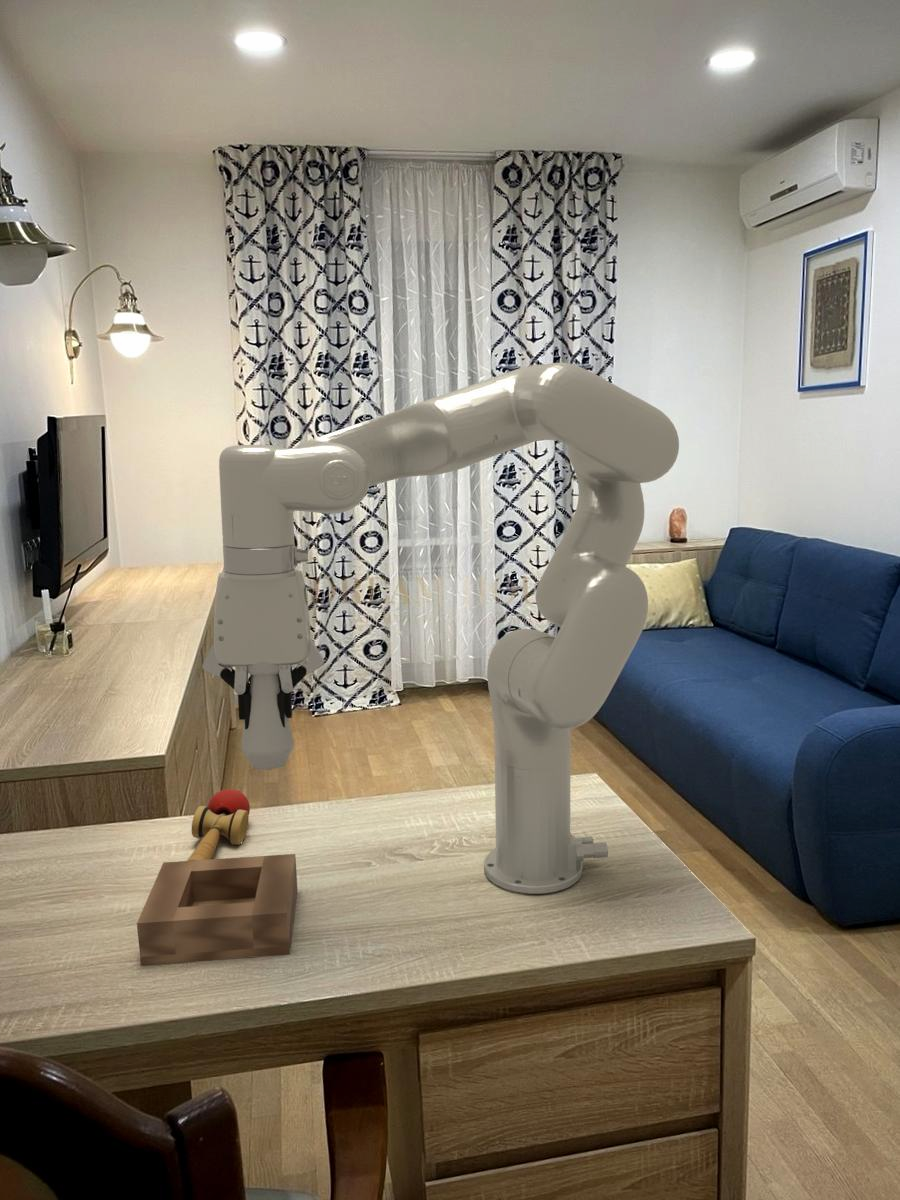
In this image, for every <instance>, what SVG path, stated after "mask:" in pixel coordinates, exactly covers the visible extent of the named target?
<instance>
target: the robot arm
mask: <svg viewBox="0 0 900 1200" xmlns="http://www.w3.org/2000/svg"><path fill="white" fill-rule="evenodd" d="M538 441H558V442H560V443H563V444H564V445H566V447H567V454H568V455H567V456H568V458H569V460H570V464H571V466H572V468H573V470H574V473H575V478H576V482H577V488H578V498H577V499H578V500H577V505H576V509H575V510H574V514H573V516H572V519H571V521H570V523H569V525H568V527H567V529H566V531H565V533H564V534H563V536H562V539H561V540H560V542H559V544H558V545H557V548H556V550H555V552H554V553H553V555H552V557H551V558H550V560H549V562H548V564H547V566H546V568H545V570H544V571H543V574H542V575H541V577H540V580H539V581H538V584H537V587H536V591H535V603H536V606H537V610H538V611H539V612H540V614H541V615H542V617H544V619H546V620H547V621H548V622H549V623H551V624H553V625H554V626H556V627H558V628H559V630H558V632H557V634H556V636H553V635H551V634H549V633H546V632H544V631H540V630H538V629H533V628H532V629H531V628H520V629H519V628H518V629H516V630H512V631H510V632H508V633H506V634H505V635H503V636H502V637H501V638H499V640H498V641H497V642H495V645H493V648H492V649H491V651H490V654H489V656H488V657H489V658H488V661H487V669H486V670H487V671H486V675H487V676H486V677H487V685H488V686H487V687H488V688H487V689H488V694H489V698H490V705H491V709H492V711H491V712H492V720H493V731H494V733H493V734H494V735H493V737H494V738H493V739H494V794H495V796H494V802H495V807H494V808H495V848H494V849H493V850H491V851H490V852H489V853H488V854H487V855H485V858H484V861H483V863H484V864H483V865H484V867H483V870H484V874H485V876H486V877H487V879H489V881H490V882H491V883H493V884H495V885H496V886H497V887H500V888H502V889H504V890H507V891H511V892H516V893H520V894H530V895H534V894H536V895H541V894H549V893H552V894H553V893H556V892H560V891H562V890H565V889H568V888H569V887H571V886H574V885H575V884H576V883H578V882H579V880H580V879H581V877H582V876H583V862H584V860H585V859H603V858H608V856H609V855H608V854H609V849H608V844H607V842H606V841H600V842H599V841H598V842H594V839H593V836H582V837H575V835H572V832H571V757H572V750H571V749H572V748H571V747H572V744H571V731H570V730H571V729H572V730H573V729H575V728H576V729H577V728H578V727H581V726H582V725H585V724H586V723H587V722H589V721H590V720H591V719H592V718H593V717H594V716H595V715H596V714H597V713H598V712H599V711H600V709H601V707H602V706H603V705H604V703H605V702H606V700H607V698H608V696H609V694H610V693H611V691H612V689H613V687H614V685H615V684H616V682H617V680H618V678H619V676H620V675H621V672H622V671H623V669H624V667H625V665H626V664H627V661H628V660H629V658H630V655H631V654H632V652H633V650H634V648H635V646H636V644H637V642H638V641H639V638H640V636H641V634H642V632H643V630H644V627H645V624H646V621H647V617H648V611H649V598H648V591H647V589H646V586H645V584H644V582H643V580H642V579H641V577H640V576H639V575H638V574H637V573H636V572H635V571H634V570H632V569H631V568H629V567H628V566H627V565H628V563H629V561H630V559H631V557H632V554H633V552H634V550H635V548H636V546H637V544H638V542H639V539H640V537H641V533H642V531H643V526H644V522H645V502H644V494H643V491H642V490H643V489H642V486H641V484H644V483H645V484H647V483H650V482H651V483H652V482H655V481H657V480H658V479H661V478H662V477H663V476H665V475H666V474H667V473H669V472H670V470H671V469H672V468H673V466H674V465H675V463H676V460H677V459H678V455H679V449H680V440H679V434H678V430H677V429H676V427H675V425H674V423H673V421H672V420H671V419H670V418H669V417H668V415H666V413H664V412H663V411H662V410H660V409H659V408H657V407H656V406H655V405H652V404H650V403H649V402H647V401H645V400H643V399H641V398H639V397H637V396H636V395H634V394H632V393H630V392H628V391H626V390H625V389H623V388H621V387H619V385H618V386H617V385H615V384H614V383H613V382H610V381H609V380H607V379H605V378H603V377H601V376H599V375H597V374H596V373H594V372H592V371H590V370H588V369H586V368H583V367H581V366H578V365H577V364H573V363H569V362H553V363H543V364H535V365H528V366H524V367H520V368H517V369H514V370H511V371H507V372H505V373H502V374H499V375H497V376H494V377H490V378H488V379H485V380H482V381H478V382H476V383H472V384H471V385H468V386H465V387H461V388H460V389H459V388H458V389H456V390H453V391H450V392H447V393H443V394H440V395H437V396H435V397H431V398H429V399H426V400H423V401H420V402H416V403H414V404H411V405H409V406H406V407H403V408H401V409H398V410H396V411H392V412H390V413H387V414H383V415H381V416H378V417H375V418H372V419H368V420H365V421H362V422H359V423H356V424H353V425H349V426H347V427H343V428H341V429H338V430H335V431H332V432H329V433H327V434H323V435H321V436H317V437H315V438H312V439H309V440H307V441H306V440H305V441H304V442H301V443H299V444H297V445H296V446H295V447H291V448H289V447H288V448H286V447H284V446H280V445H275V444H273V445H272V444H241V445H240V444H238V445H231V446H227V447H225V448H224V449H223V450H222V451H221V452H220V455H219V458H218V463H219V465H218V470H219V471H218V473H219V488H220V489H219V491H220V492H219V493H220V509H221V510H220V514H221V533H222V553H223V572H220V573H218V574H217V575H218V576H217V582H216V589H215V598H214V615H213V616H214V617H213V619H214V620H213V621H214V624H213V629H214V630H213V643H212V645H211V647H210V648H209V651H208V653H207V655H206V657H205V659H204V661H203V663H202V665H201V668H202V670H203V671H205V672H207V673H209V674H212V675H214V676H216V677H219V678H221V680H222V681H224V682H225V683H226V684H227V685H228V686H230V687H231V688H232V689H233V690H234V692H235V694H237V703H238V707H237V708H238V720H242V721H244V720H245V729H248V727H249V718H250V711H251V694H250V693H249V682H250V681H249V673H247V666H251V665H255V664H257V663H260V662H264V661H266V662H267V663H268V664H274V665H279V675H280V680H281V684H280V686H279V688H280V692H279V694H277V703H278V709H279V712H280V719H281V722H282V725H283V727H285V716H286V717H287V718H289V719H293V705H292V704H293V699H292V698H293V697H292V696H293V695H292V691H293V689H294V688H295V687H296V686H297V685H298V684H299V683H300V682H301V681H302V680H303V679H304V677H306V676H307V675H309V674H311V673H313V672H315V671H317V670H318V669H320V668H322V667H324V664H325V663H324V661H325V660H324V657H323V655H322V653H321V652H320V650H319V649H318V647H317V646H316V643H315V642H314V640H313V638H312V637H311V627H310V613H309V603H308V593H307V588H306V587H307V586H306V582H305V579H304V575H303V571H302V570H297V569H296V566H298V564H302V563H308V562H309V550H308V549H302V548H298V546H296V543H295V526H294V525H295V524H294V523H295V521H294V511H295V512H306V513H307V512H309V513H317V514H328V515H334V514H335V515H336V514H337V515H338V514H342V513H346V512H348V511H351V510H353V509H354V508H355V507H357V506H358V505H360V504H361V502H362V501H363V500H364V499H365V497H366V495H367V493H368V491H369V488H370V487H373V486H376V485H379V484H382V483H386V482H390V481H394V480H398V479H402V478H403V479H404V478H411V477H421V476H423V477H424V476H425V477H426V476H437V475H443V474H447V473H451V472H452V473H453V472H456V471H459V470H461V469H464V468H467V467H470V466H472V465H475V464H477V463H480V462H481V461H485V460H487V459H490V458H493V457H495V456H498V455H501V454H503V453H506V452H508V451H509V452H510V451H513V450H516V449H518V448H520V447H524V446H526V445H529V444H531V443H536V442H538ZM294 665H296V666H295V667H294V668H293V666H294ZM233 667H235V668H233Z"/></svg>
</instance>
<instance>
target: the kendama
mask: <svg viewBox="0 0 900 1200" xmlns="http://www.w3.org/2000/svg"><path fill="white" fill-rule="evenodd" d="M250 811H251V809H250V802H249V800H248V798H247V797H246V795H245V794H244V793H243V792H241V791H239V790H237V789H233V788H227V789H226V788H225V789H222V790H220V791H218V792H216V793H215V794H214V795H213V796H211V798H210V799H209V801H208V803H207V805H200V806H198V807H197V809H196V810H195V813H194V815H193V817H192V822H191V835H192V837H193V838H197V839H201V840H200V841H199V843H198V844H197V846H196V847H195V849H194V850H193V852H192V853H191V855H190V856H189V858H188V859H186V861H194V860H209V859H213V856H214V853H215V851H216V848H217V846H218V843H219V839H220V836H223V837H226V838H227V840H229V842H230V844H231V845H235V846H236V845H238V846H241V845H242V844H241V842H242V840H243V839H244V838H246V836H247V832H248V827H249V817H250ZM244 840H245V839H244ZM242 843H243V842H242ZM240 844H241V845H240Z"/></svg>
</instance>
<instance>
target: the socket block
mask: <svg viewBox="0 0 900 1200" xmlns="http://www.w3.org/2000/svg"><path fill="white" fill-rule="evenodd" d="M297 875H298V873H297V859H296V853H289V854H273V855H258V856H255V855H254V856H244V857H242V856H241V857H226V858H214V859H213V858H211V859H209V860H194V861H187V860H181V861H179V860H178V861H167V862H165V861H164V862H162V864H161V867H160V868H159V871H158V874H157V876H156V879H155V881H154V883H153V885H152V887H151V890H150V891H149V895H148V897H147V899H146V902H145V903H144V905H143V906H144V907H143V908H142V911H141V912H140V915H139V918H138V919H137V922H136V927H137V928H136V929H137V939H138V949H139V950H138V951H139V958H140V966H149V965H150V966H151V965H161V964H176V963H177V964H178V963H189V962H190V963H191V962H202V961H203V962H204V961H216V960H217V961H218V960H228V959H229V960H231V959H241V958H256V957H269V956H272V957H273V956H281V955H282V956H283V955H284V956H285V955H290V954H291V953H290V952H291V946H292V945H291V944H292V936H293V930H294V929H293V928H294V920H295V914H296V908H297V905H296V904H297V898H298V892H297V891H298V877H297Z"/></svg>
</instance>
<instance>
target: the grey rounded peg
mask: <svg viewBox="0 0 900 1200" xmlns="http://www.w3.org/2000/svg"><path fill="white" fill-rule="evenodd" d="M247 673H248V675H250V677H249V681H248V682H249V693H250V694H251V711H250V718H249V727H248V729H245V720H243V725H242V726H243V727H242V734H241V741H240V747H241V750H242V753H243V754H244V756H245V757H246V759H247V761H248V763H249V765H250V766H251V767H252V768H253V769H254V770H263V771H272V770H275V769H280V768H283V767H285V765H286V764H287V761H288V759H289V757H290V755H291V753H292V751H293V749H294V746H295V745H294V743H295V741H294V736H293V734H292V728H291V724H290V718H287V717H286V716H285V727H283V725H282V722H281V719H280V712H279V709H278V703H277V694H279V692H280V688H279V686H280V684H281V680H280V673H279V665H274V664H268V663H267V662H266V661H264V662H260V663H257V664H255V665H251V666H247Z"/></svg>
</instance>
